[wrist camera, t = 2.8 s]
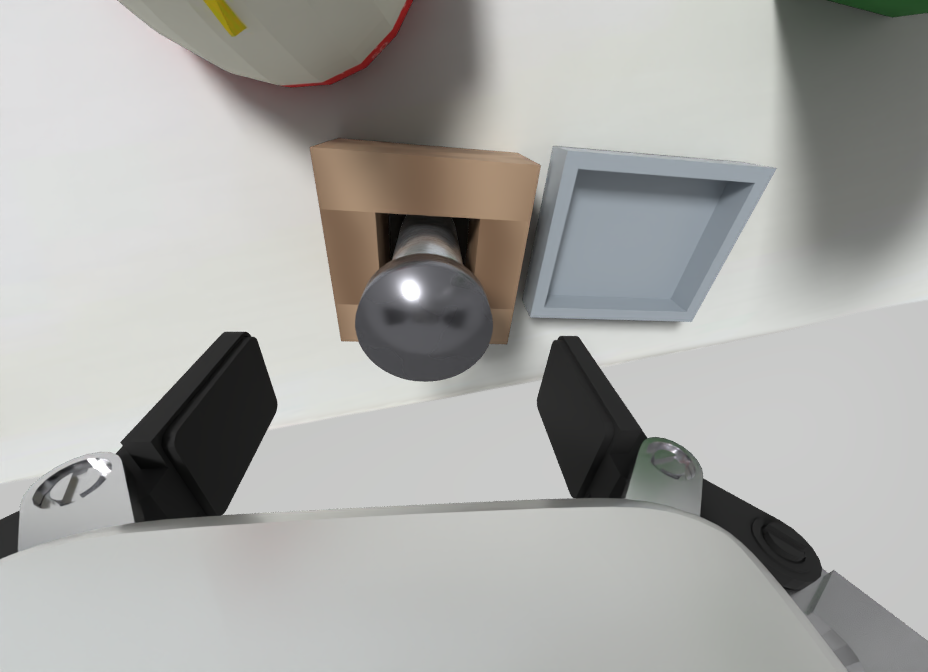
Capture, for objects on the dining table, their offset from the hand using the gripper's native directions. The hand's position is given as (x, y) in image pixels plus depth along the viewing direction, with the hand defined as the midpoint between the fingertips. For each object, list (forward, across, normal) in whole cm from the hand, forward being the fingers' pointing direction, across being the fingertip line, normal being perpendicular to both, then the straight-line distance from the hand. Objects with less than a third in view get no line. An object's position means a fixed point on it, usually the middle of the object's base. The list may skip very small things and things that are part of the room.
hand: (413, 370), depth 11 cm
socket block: (+13, -1, -1) cm, 13 cm away
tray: (+13, -14, -1) cm, 19 cm away
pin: (+13, -1, -1) cm, 13 cm away
